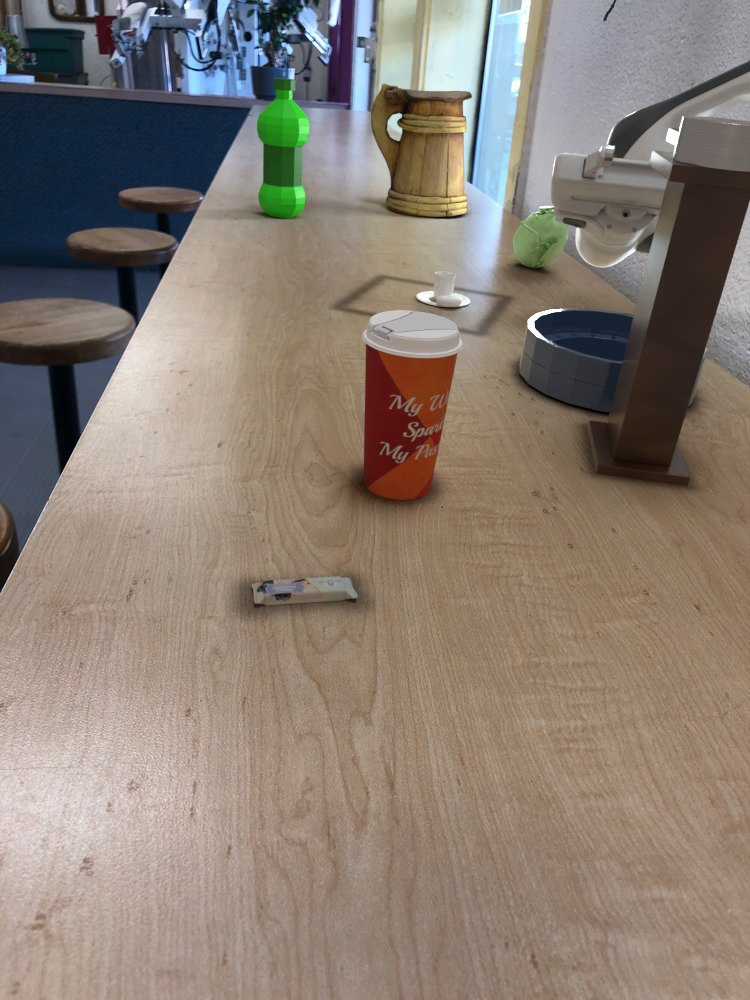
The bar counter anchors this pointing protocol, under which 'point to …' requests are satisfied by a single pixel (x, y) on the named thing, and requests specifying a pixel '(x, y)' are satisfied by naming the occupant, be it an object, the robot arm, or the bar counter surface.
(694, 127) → the grey block
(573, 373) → the bowl
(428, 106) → the tankard
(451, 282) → the teacup and saucer
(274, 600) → the granola bar
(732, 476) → the bar counter surface
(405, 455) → the paper cup
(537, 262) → the green cabbage
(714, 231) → the wooden post stand
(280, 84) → the plastic bottle
